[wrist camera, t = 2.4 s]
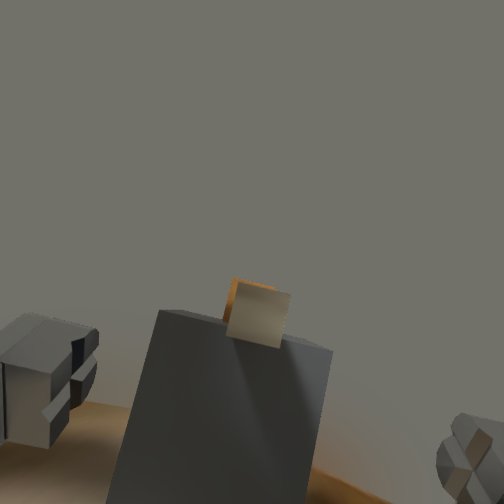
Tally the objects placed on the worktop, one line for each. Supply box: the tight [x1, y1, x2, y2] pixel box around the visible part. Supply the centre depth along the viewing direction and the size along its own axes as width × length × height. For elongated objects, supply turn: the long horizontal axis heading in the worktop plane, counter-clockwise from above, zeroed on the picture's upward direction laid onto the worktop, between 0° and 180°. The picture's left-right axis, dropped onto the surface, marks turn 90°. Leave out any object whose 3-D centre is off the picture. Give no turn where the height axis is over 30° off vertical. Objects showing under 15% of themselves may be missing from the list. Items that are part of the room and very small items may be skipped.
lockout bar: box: [222, 278, 291, 349], centre depth 29 cm, size 22×4×4 cm, turn 3°
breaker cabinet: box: [105, 310, 333, 504], centre depth 32 cm, size 13×14×26 cm
